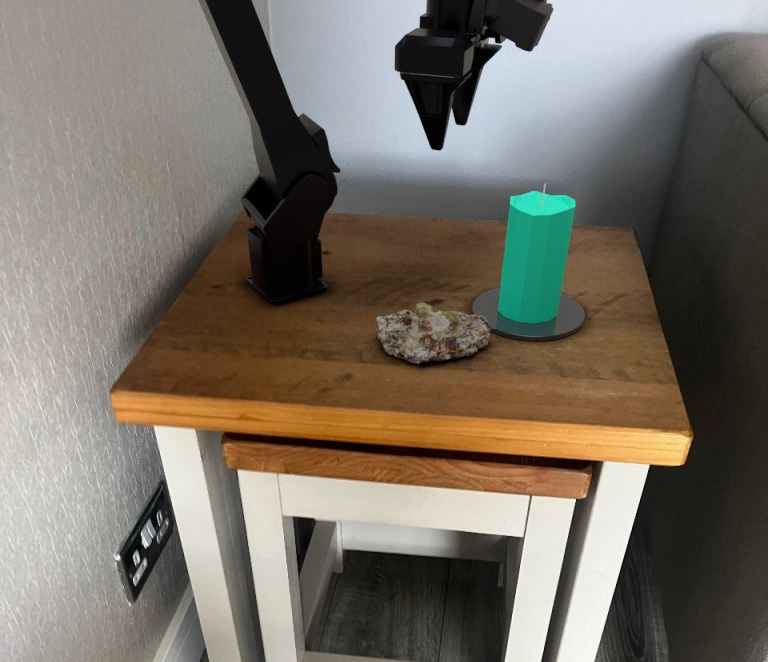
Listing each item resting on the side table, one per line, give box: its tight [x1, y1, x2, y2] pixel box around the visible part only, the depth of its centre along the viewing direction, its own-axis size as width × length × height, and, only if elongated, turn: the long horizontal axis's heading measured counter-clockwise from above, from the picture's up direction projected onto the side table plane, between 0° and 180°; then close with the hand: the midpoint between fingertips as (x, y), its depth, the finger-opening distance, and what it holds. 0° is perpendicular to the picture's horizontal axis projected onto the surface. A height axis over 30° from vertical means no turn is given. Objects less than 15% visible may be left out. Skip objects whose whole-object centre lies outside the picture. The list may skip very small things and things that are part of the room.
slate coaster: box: [471, 286, 586, 342], centre depth 77 cm, size 11×11×1 cm
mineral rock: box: [375, 302, 492, 365], centre depth 72 cm, size 11×4×8 cm
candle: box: [498, 183, 576, 323], centre depth 73 cm, size 6×6×12 cm
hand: (449, 136), depth 78 cm, fingers open, 9 cm apart
